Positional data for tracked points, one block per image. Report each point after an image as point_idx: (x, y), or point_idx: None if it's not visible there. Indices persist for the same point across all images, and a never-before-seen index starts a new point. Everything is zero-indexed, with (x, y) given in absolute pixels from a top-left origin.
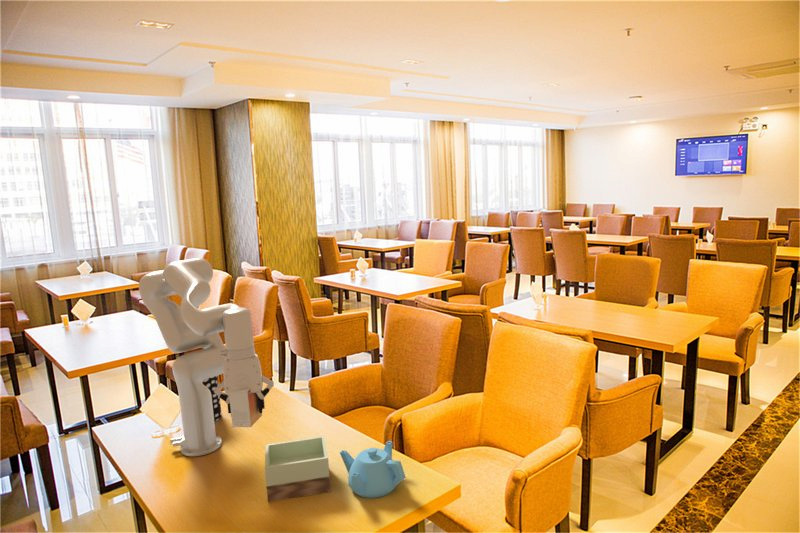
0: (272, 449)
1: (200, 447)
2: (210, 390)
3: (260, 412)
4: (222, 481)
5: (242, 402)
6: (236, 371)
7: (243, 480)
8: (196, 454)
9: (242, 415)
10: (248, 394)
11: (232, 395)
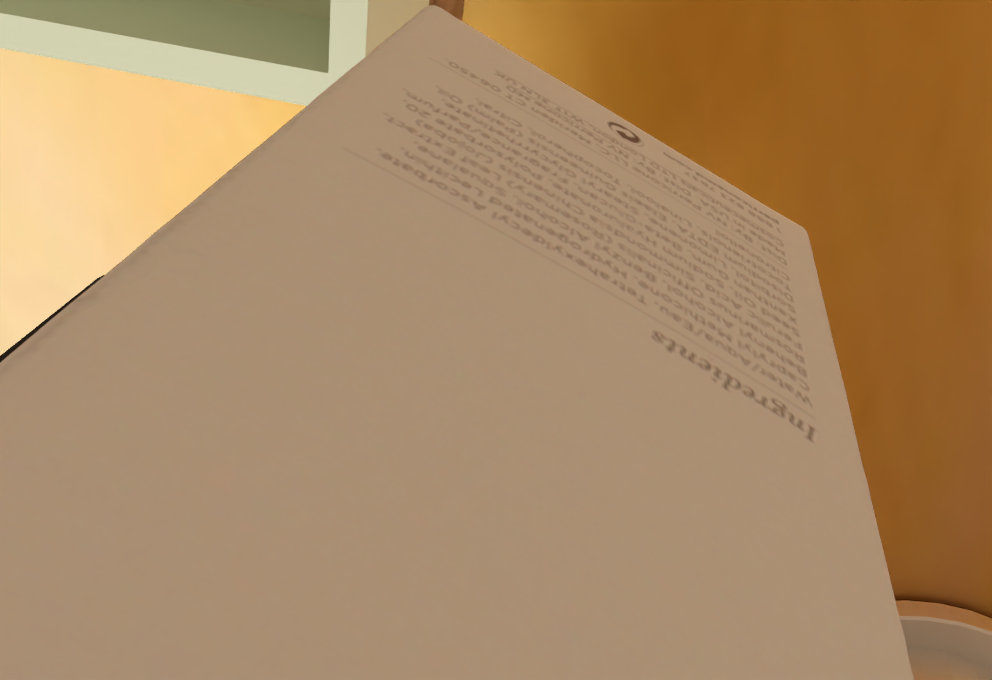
0: (309, 50)
1: (936, 669)
2: None
3: None
4: (872, 139)
5: (385, 418)
6: None
7: (689, 63)
8: (974, 621)
9: (544, 196)
10: None
11: None
